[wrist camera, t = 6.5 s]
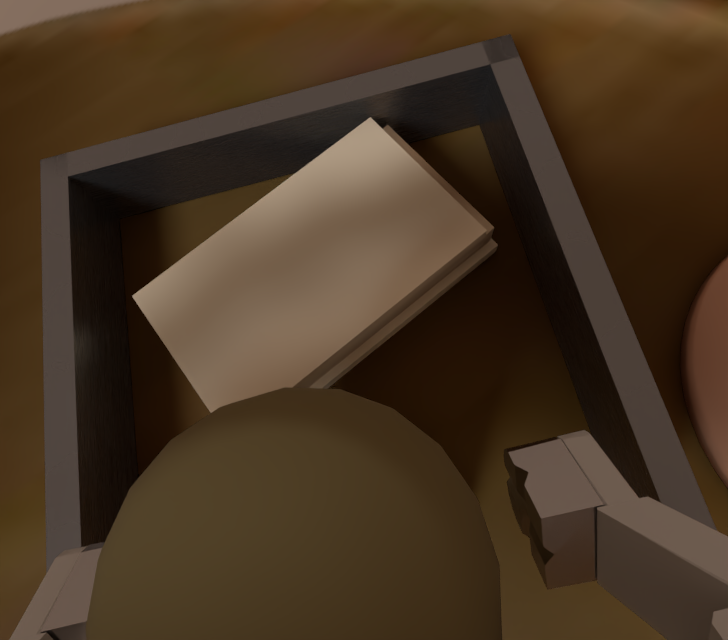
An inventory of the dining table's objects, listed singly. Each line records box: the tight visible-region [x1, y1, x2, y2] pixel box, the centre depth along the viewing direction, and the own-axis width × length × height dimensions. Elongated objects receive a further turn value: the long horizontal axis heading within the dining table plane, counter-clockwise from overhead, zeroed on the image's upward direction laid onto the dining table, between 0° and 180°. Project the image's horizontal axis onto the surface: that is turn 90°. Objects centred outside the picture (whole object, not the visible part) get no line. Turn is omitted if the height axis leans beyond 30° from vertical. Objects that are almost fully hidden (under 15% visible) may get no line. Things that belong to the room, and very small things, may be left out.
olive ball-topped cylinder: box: [86, 387, 502, 640], centre depth 10 cm, size 6×6×11 cm
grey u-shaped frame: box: [40, 34, 717, 572], centre depth 16 cm, size 16×17×3 cm
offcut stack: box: [132, 117, 498, 413], centre depth 17 cm, size 6×11×3 cm, turn 129°
